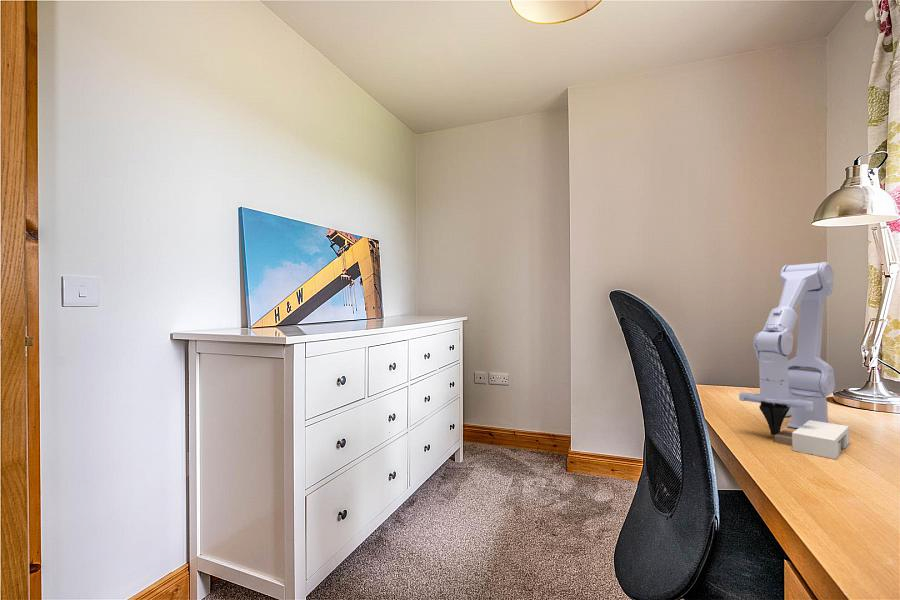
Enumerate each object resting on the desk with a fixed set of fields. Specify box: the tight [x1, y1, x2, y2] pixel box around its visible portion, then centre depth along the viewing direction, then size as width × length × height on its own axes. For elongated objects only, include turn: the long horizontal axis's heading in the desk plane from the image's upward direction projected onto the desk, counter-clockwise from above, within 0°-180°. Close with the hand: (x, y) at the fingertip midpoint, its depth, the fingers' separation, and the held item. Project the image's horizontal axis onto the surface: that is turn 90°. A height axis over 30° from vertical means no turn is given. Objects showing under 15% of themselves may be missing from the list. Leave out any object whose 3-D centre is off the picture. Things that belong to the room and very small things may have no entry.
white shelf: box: [791, 420, 851, 460], centre depth 97 cm, size 16×7×4 cm, turn 128°
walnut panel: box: [773, 429, 793, 447], centre depth 99 cm, size 7×9×2 cm
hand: (775, 434), depth 103 cm, fingers closed
